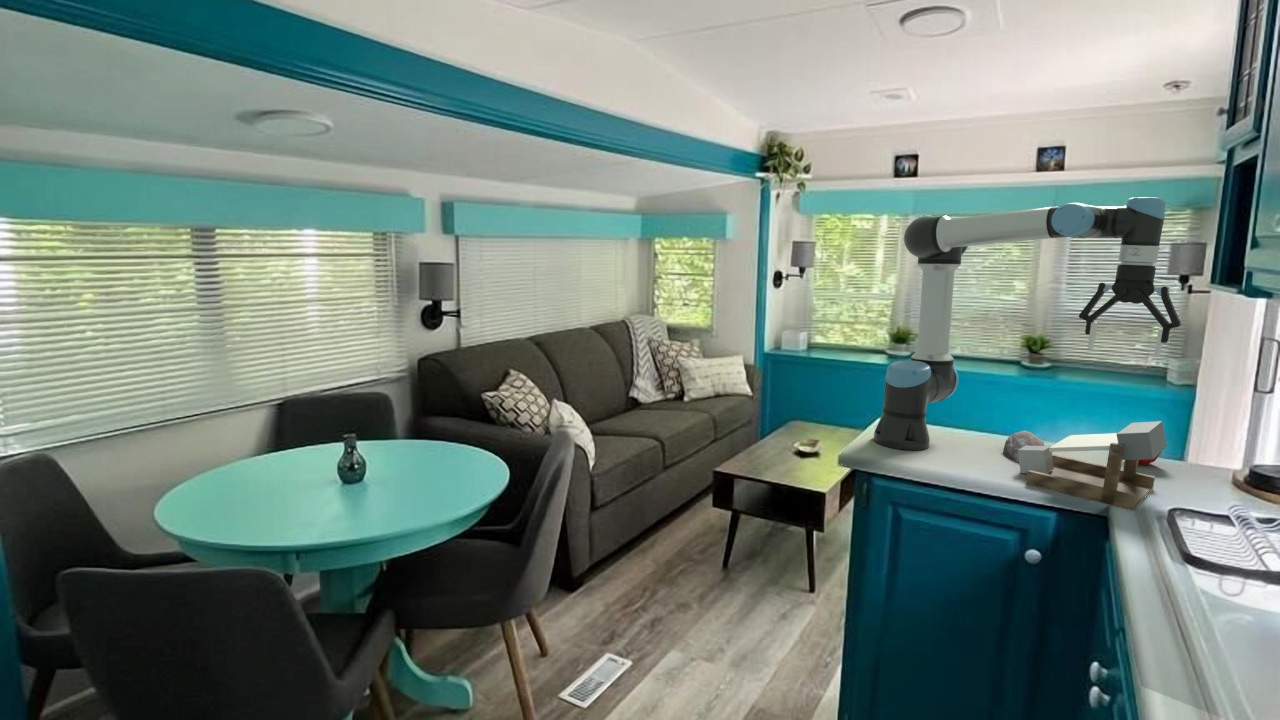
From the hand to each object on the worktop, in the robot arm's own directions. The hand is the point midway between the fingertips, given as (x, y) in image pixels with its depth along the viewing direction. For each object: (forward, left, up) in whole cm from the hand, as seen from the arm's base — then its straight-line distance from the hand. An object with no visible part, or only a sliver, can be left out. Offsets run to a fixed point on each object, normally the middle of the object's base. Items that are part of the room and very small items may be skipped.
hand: (1122, 352), depth 168 cm
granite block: (-14, -8, -26) cm, 31 cm away
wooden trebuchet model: (-1, -8, -33) cm, 34 cm away
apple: (+3, +26, -33) cm, 42 cm away
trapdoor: (+2, -8, -24) cm, 25 cm away
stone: (-19, +6, -33) cm, 39 cm away
